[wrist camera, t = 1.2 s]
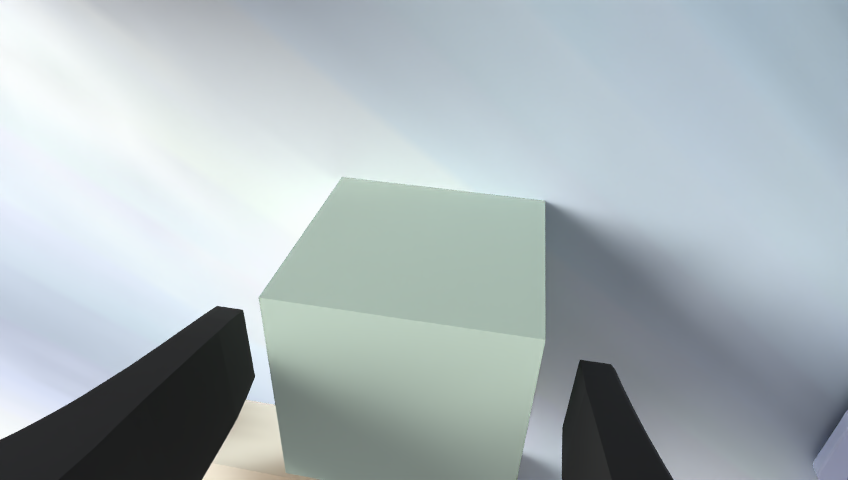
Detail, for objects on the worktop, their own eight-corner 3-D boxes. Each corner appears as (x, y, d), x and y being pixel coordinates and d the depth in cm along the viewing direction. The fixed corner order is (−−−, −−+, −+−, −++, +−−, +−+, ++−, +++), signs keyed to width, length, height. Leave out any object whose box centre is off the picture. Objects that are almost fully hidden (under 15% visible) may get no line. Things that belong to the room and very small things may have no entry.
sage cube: (545, 198, 13) (545, 339, 9) (518, 352, 16) (509, 515, 12) (343, 175, 14) (258, 297, 10) (349, 327, 17) (286, 472, 13)
